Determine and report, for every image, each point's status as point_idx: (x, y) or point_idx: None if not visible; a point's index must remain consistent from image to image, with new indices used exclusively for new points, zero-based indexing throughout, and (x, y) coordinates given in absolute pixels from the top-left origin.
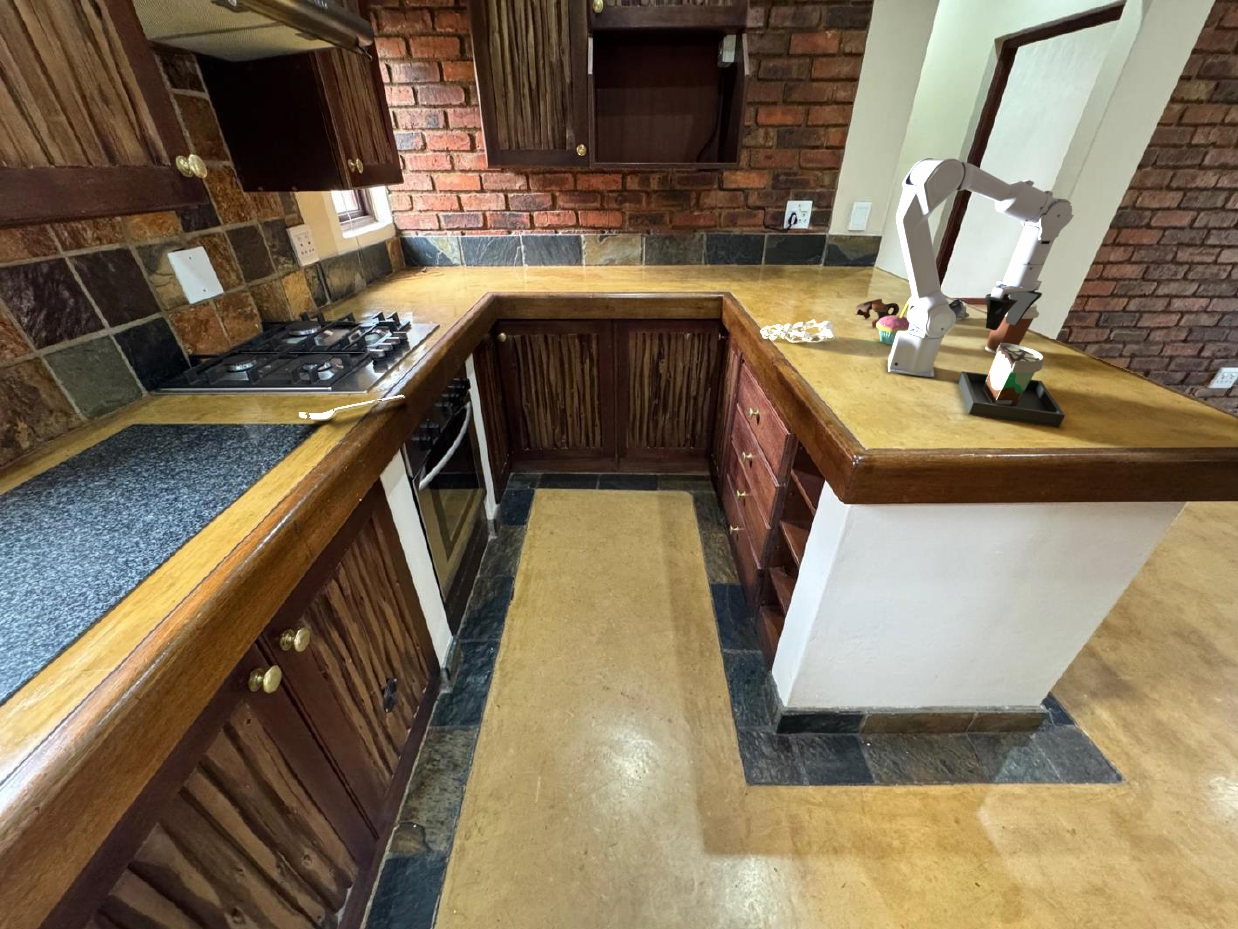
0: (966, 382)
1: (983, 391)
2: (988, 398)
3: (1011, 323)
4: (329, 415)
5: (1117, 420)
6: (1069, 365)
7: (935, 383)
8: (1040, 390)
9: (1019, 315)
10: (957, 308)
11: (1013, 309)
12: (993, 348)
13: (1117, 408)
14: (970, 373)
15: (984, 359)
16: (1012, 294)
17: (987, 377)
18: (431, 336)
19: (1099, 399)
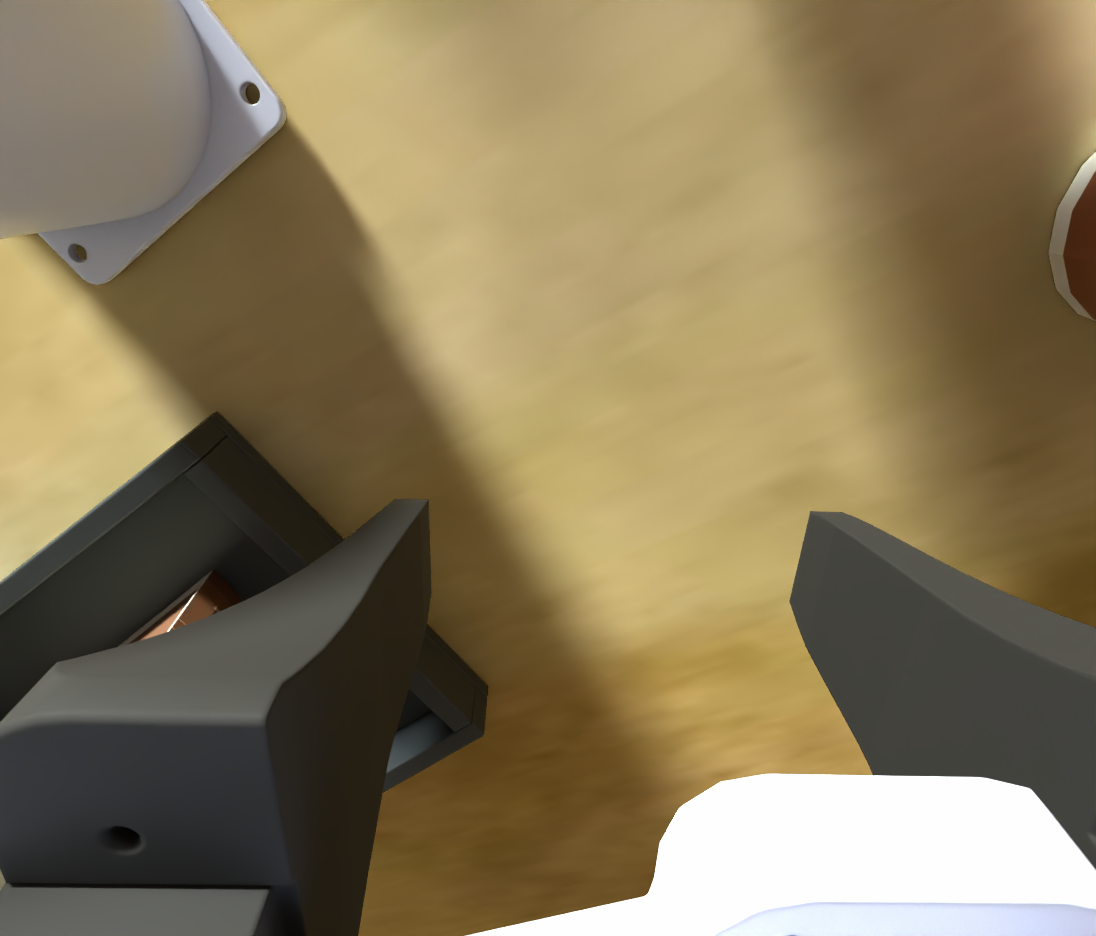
0: (32, 560)
1: (188, 585)
2: (119, 645)
3: (802, 572)
4: None
5: (468, 914)
6: (1092, 606)
7: (47, 346)
8: (389, 757)
9: (839, 682)
10: None
11: (898, 637)
12: (1082, 212)
13: (597, 882)
14: (204, 491)
15: (829, 267)
16: (1085, 722)
17: (184, 610)
18: None
19: (644, 829)
